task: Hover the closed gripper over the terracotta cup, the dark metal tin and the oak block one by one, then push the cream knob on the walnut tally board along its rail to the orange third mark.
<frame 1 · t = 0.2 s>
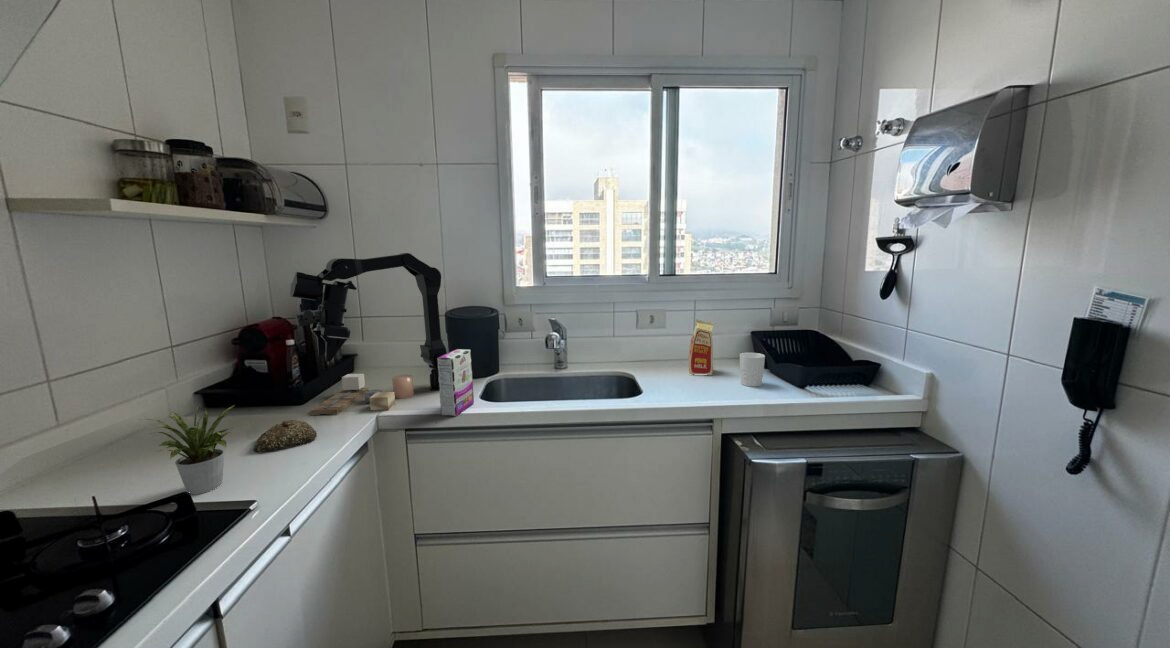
hand: (324, 358, 124), 15 cm above the table, tool pointing down, fingers open, 9 cm apart
house plant: (195, 491, 84), on the table
candy bar box: (457, 410, 127), on the table
terracotta cup: (403, 395, 140), on the table
white cup: (750, 384, 150), on the table
oak block: (383, 408, 129), on the table
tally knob: (353, 381, 141), point 4 cm above the table, slide at 0.0 cm
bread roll: (286, 442, 107), on the table
tally board: (342, 402, 134), on the table
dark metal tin: (374, 401, 135), on the table
milk carton: (701, 372, 165), on the table
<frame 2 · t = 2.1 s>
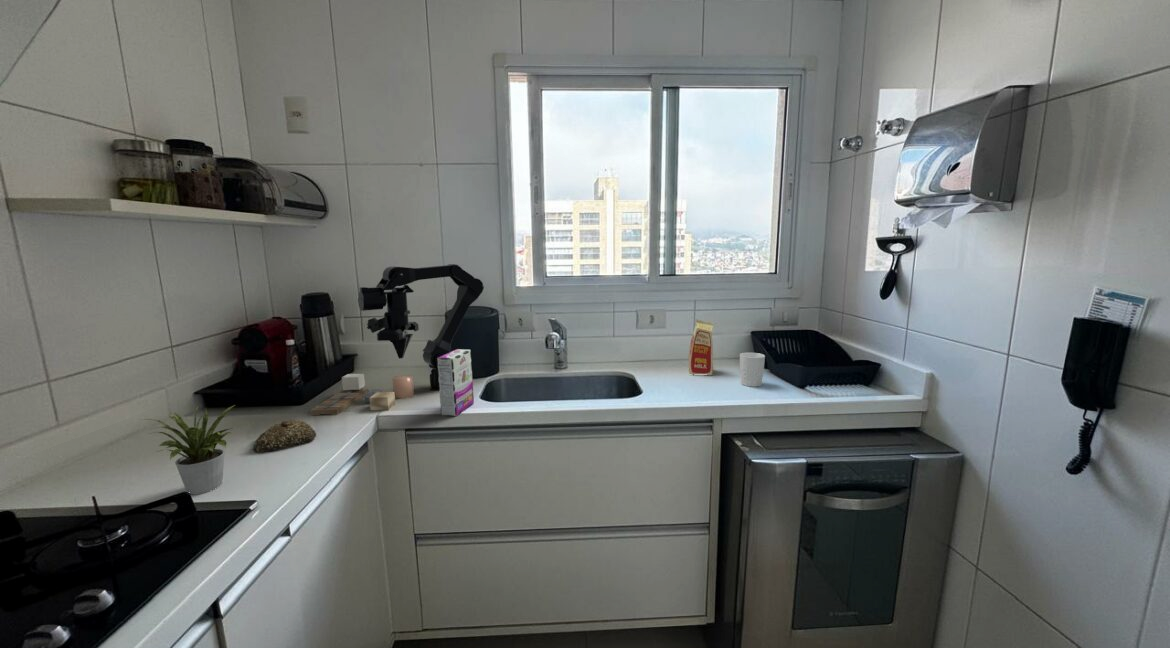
hand: (400, 358, 138), 12 cm above the table, tool pointing down, fingers closed
nothing on the table moved.
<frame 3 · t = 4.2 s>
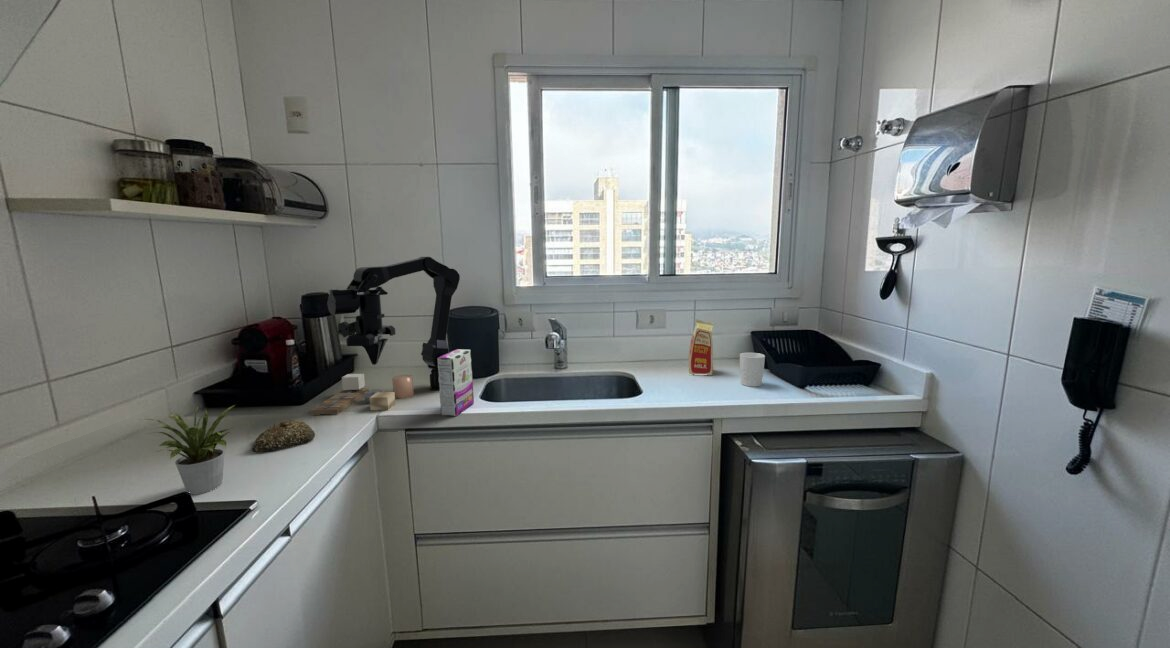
hand: (374, 364, 131), 12 cm above the table, tool pointing down, fingers closed
nothing on the table moved.
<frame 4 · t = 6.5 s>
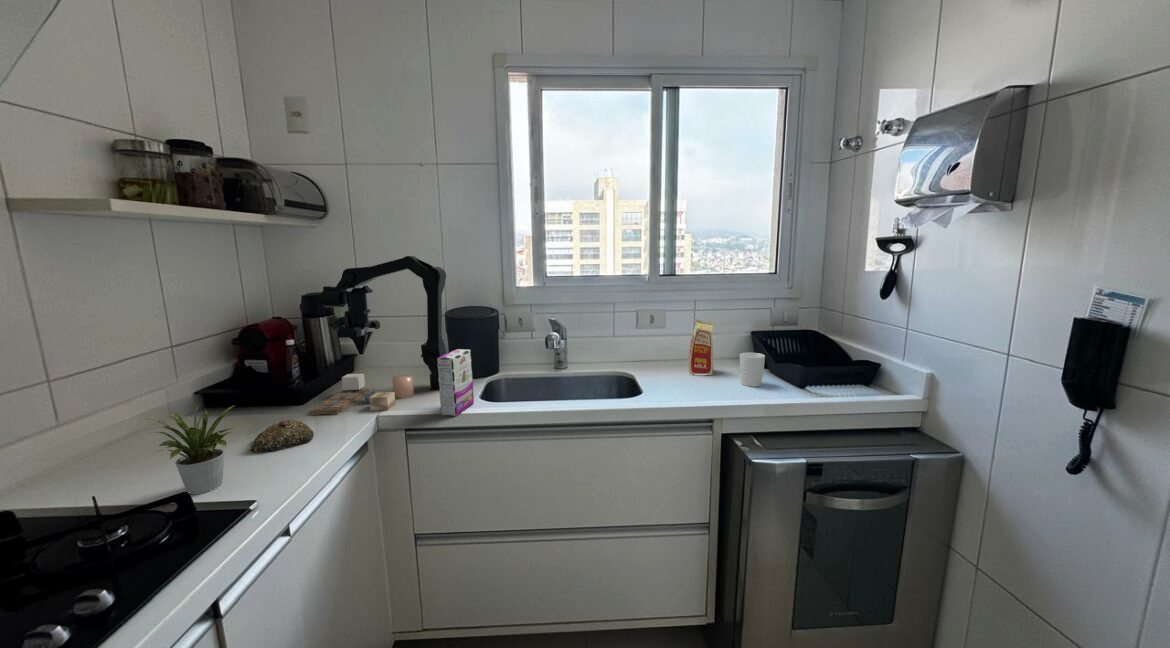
hand: (361, 354, 146), 11 cm above the table, tool pointing down, fingers closed
nothing on the table moved.
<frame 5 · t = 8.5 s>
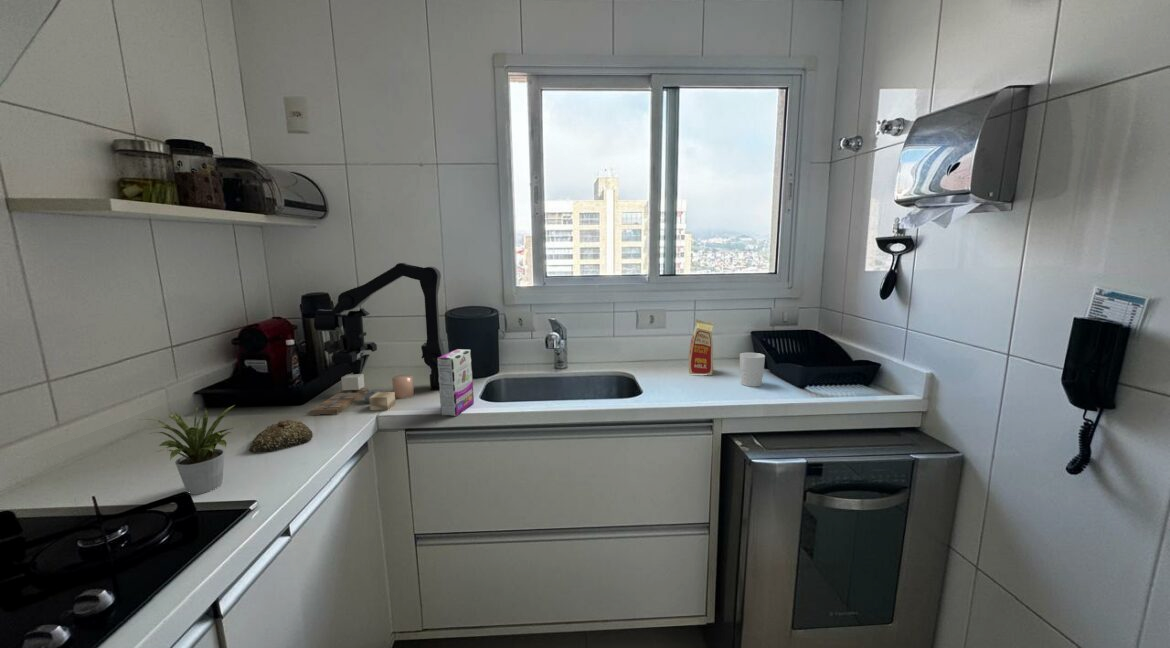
hand: (357, 378, 144), 5 cm above the table, tool pointing down, fingers closed
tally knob: (353, 381, 141), point 4 cm above the table, slide at 0.3 cm, touching gripper
everything else where it was.
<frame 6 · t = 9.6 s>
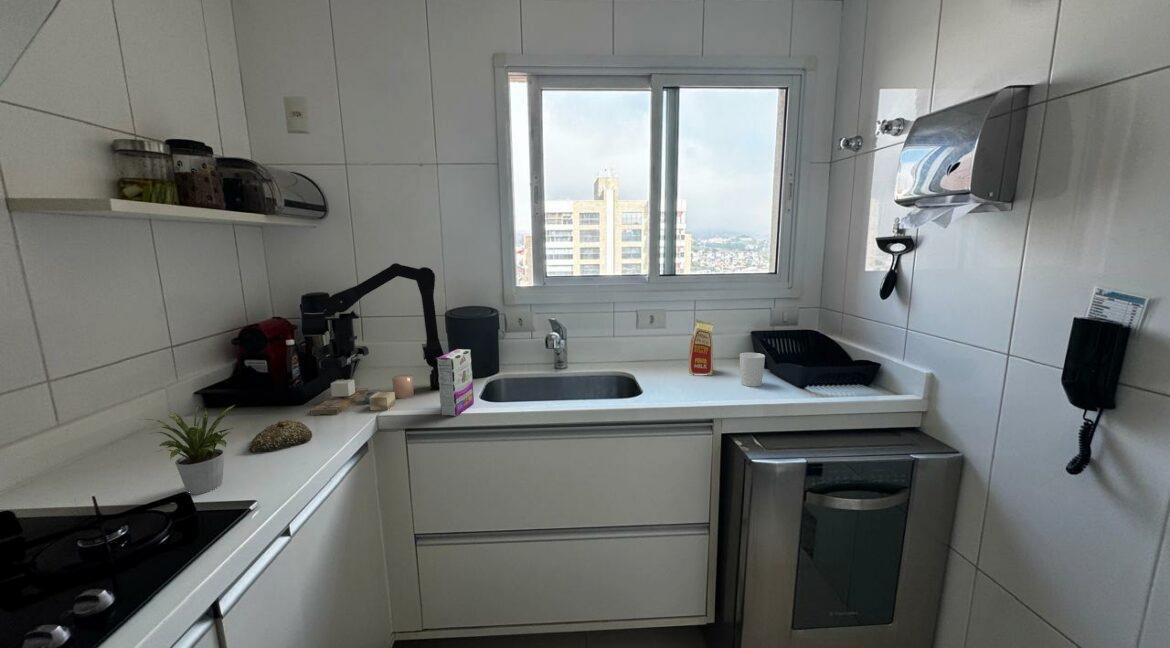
hand: (348, 383, 137), 5 cm above the table, tool pointing down, fingers closed
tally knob: (343, 387, 134), point 4 cm above the table, slide at 6.7 cm, touching gripper
everything else where it was.
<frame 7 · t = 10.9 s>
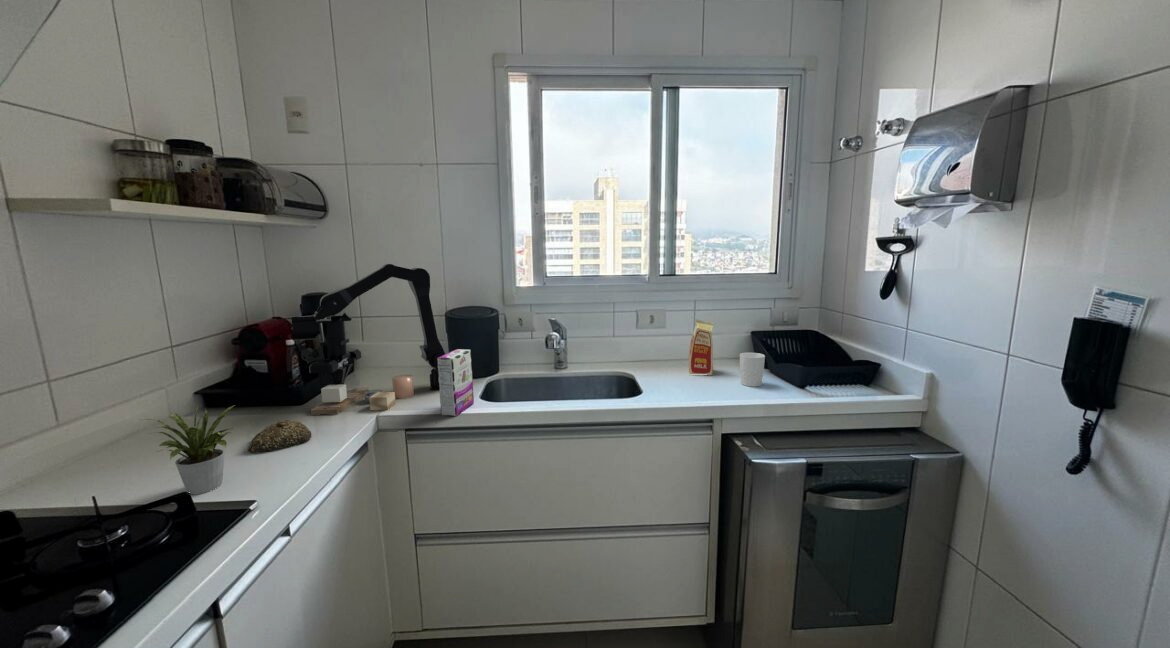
hand: (339, 388, 132), 5 cm above the table, tool pointing down, fingers closed
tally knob: (334, 393, 129), point 4 cm above the table, slide at 11.9 cm, touching gripper
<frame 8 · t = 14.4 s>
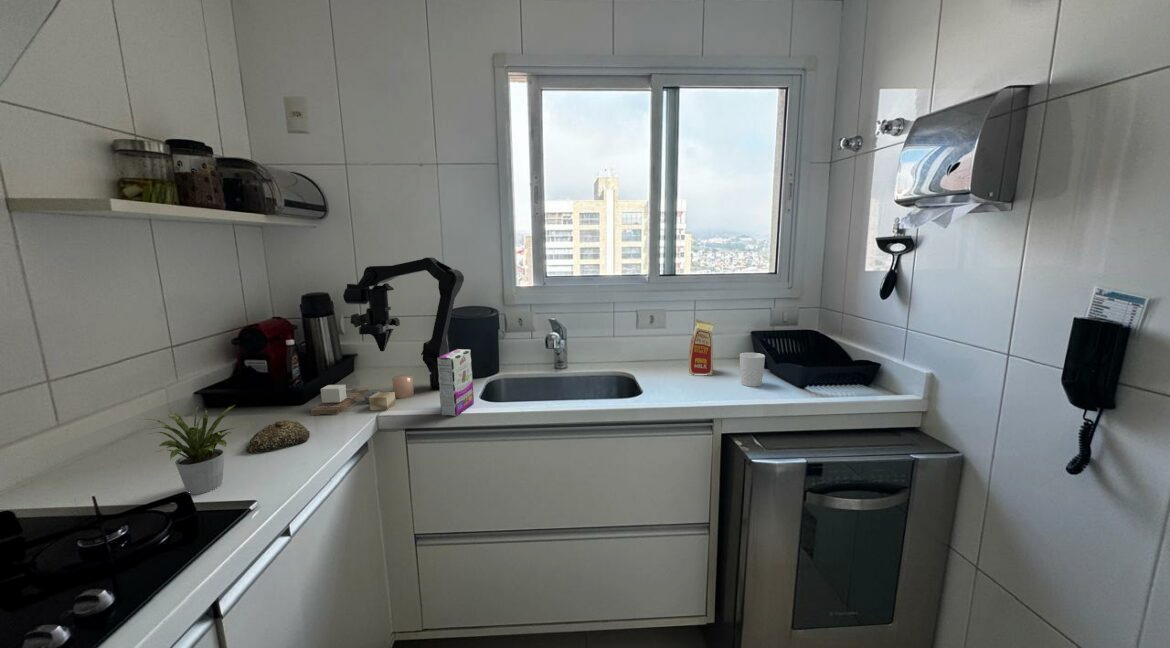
hand: (382, 351, 149), 12 cm above the table, tool pointing down, fingers closed
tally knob: (333, 393, 129), point 4 cm above the table, slide at 12.1 cm
at the end: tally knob slide at 12.1 cm; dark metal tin moved 0.1 cm from its start; terracotta cup moved 0.1 cm from its start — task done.
